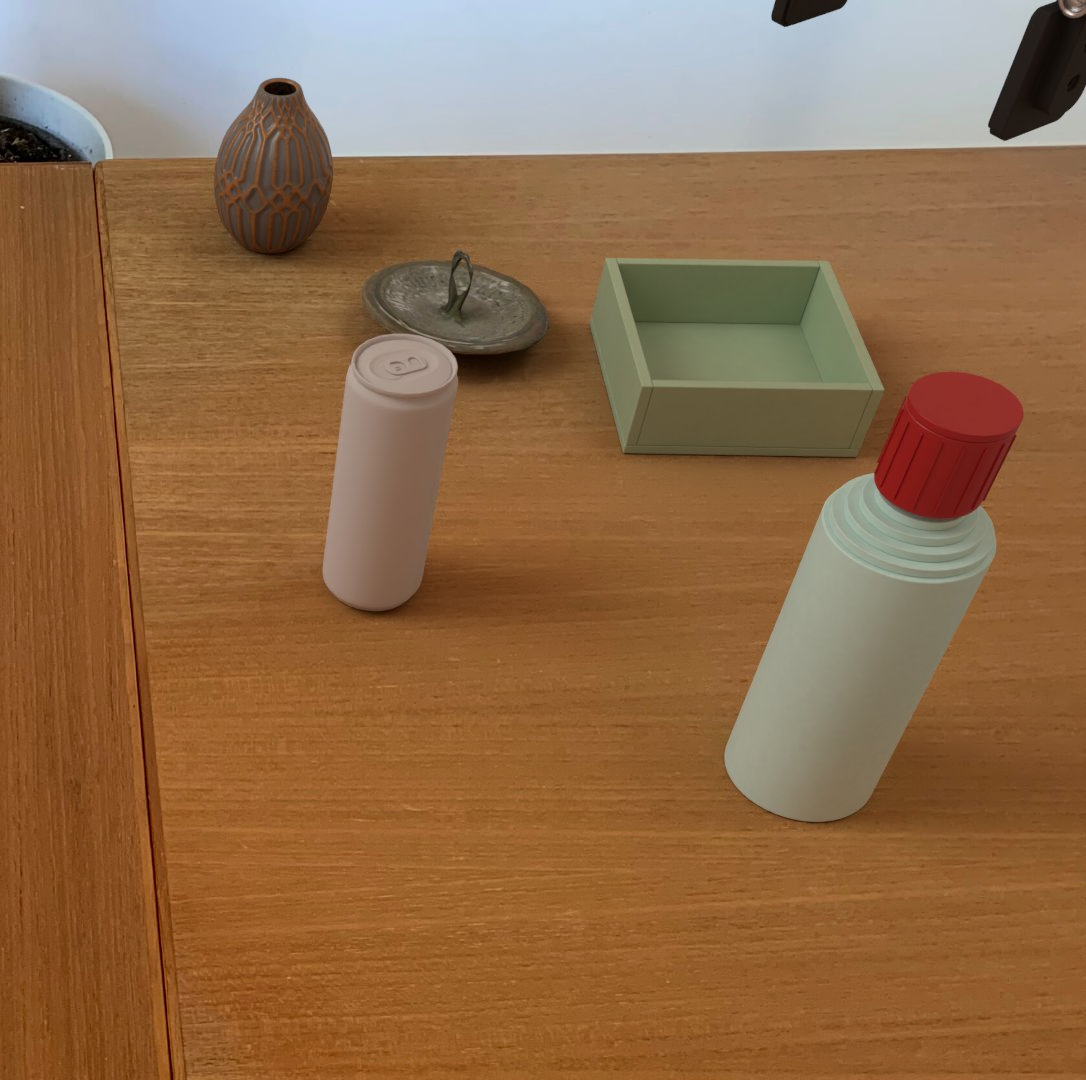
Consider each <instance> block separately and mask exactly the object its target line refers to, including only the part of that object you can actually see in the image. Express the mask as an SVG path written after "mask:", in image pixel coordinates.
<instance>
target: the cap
mask: <svg viewBox="0 0 1086 1080" xmlns="http://www.w3.org/2000/svg"><path fill="white" fill-rule="evenodd" d="M1024 415H1025V410H1024V407H1023V405H1022V403H1021V401H1020V400H1019V398H1018V397H1017V396H1016V395H1015V394H1014V393H1013V392H1012V391H1011V390H1009V389H1008V388H1007V387H1005V386H1003V385H1002V384H1000V383H998V382H996V381H994V380H993V379H989V378H987V377H985V376H981V375H978V374H973V373H968V372H961V371H938V372H934V373H933V372H932V373H929V374H926V375H923V376H921V377H920V378H918V379H917V380H915V382H913V383H912V385H911V386H910V387H909V389H908V393H907V395H906V396H904V398H903V401H902V403H901V405H900V408H899V410H898V412H897V415H896V417H895V420H894V422H893V424H892V426H891V428H890V431H889V434H888V436H887V438H886V440H885V442H884V446H883V448H882V449H881V452H880V455H879V457H878V459H877V462H876V463H877V465H876V467H875V470H874V472H873V473H874V481H875V485H876V487H877V489H878V490H879V492H880V493H881V494H882V495H883V496H884V498H886V499H887V500H888V501H889V502H890V503H892V504H893V505H895V506H897V507H899V508H900V509H903V510H905V511H907V512H909V513H912V514H915V515H919V516H923V517H928V518H936V519H951V518H958V517H962V516H965V515H968V514H970V513H972V512H973V511H974V510H976V509H977V508H978V507H979V506H982V503H983V502H985V501H986V499H987V497H988V495H989V492H990V491H991V489H992V487H993V485H994V483H995V481H996V479H997V478H998V475H999V473H1000V470H1001V468H1002V466H1003V465H1004V462H1005V460H1006V458H1007V456H1008V454H1009V453H1010V450H1011V448H1012V447H1013V445H1014V442H1015V440H1016V439H1017V436H1018V435H1017V432H1018V430H1019V428H1020V426H1021V424H1022V422H1023V420H1024Z"/></svg>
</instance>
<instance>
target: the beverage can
mask: <svg viewBox="0 0 1086 1080" xmlns="http://www.w3.org/2000/svg"><path fill="white" fill-rule="evenodd" d="M458 369H459V366H458V362H457V358H456V356H455V355H454V354H453V352H451V351H450V350H448V349H447V348H446V347H445V346H443V345H442V344H440V343H438V342H436V341H434V340H432V339H429V338H425V337H422V336H418V335H411V334H393V333H389V334H381V335H377V336H375V337H372V338H369V339H367V340H366V341H364V342H362V343H360V345H359V346H358V347H357V348H356V349H355V350H354V351H353V353H352V357H351V363H350V364H349V366H348V369H347V373H346V377H345V384H344V391H343V400H342V409H341V416H340V425H339V432H338V441H337V449H336V457H335V464H334V474H333V479H332V489H331V495H330V496H331V497H330V505H329V513H328V521H327V529H326V537H325V545H324V552H323V553H324V554H323V561H322V570H321V571H322V572H321V573H322V578H323V581H324V583H325V585H326V587H327V589H328V590H329V591H330V593H331V594H332V595H333V596H334V597H335V598H336V599H338V600H339V602H342V603H343V604H345V605H347V606H348V607H350V608H352V609H353V608H354V609H357V610H360V611H365V612H366V611H367V612H384V611H389V610H393V609H395V608H397V607H400V606H402V605H403V604H405V603H406V602H407V601H409V600H410V598H411V597H412V596H414V595H415V593H416V592H417V591H418V590H419V588H420V587H421V585H422V580H423V576H424V571H425V565H426V561H427V554H428V550H429V545H430V538H431V533H432V527H433V523H434V516H435V511H436V507H437V500H438V496H439V489H440V484H441V479H442V473H443V467H444V463H445V457H446V452H447V446H448V441H449V436H450V430H451V425H452V420H453V415H454V414H453V413H454V410H455V409H454V408H455V404H456V398H457V392H458V389H459V387H458V386H459V378H458Z"/></svg>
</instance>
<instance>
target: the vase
mask: <svg viewBox="0 0 1086 1080" xmlns="http://www.w3.org/2000/svg"><path fill="white" fill-rule="evenodd" d="M303 91H304V90H303V88H302V85H301V84H300V83H299V82H297V81H296V80H294V79H290V78H286V77H273V78H268V79H265V80H264V81H262V82H261V83H260V84H259V86H258V87H257V90H256V92H255V94H254V96H253V98H252V99H251V101H250V102H249V103H248V104H247V105H246V107H245V108H244V109H243V110H241V112H240V113H239V114H238V116H237V117H236V118H235V119H234V120H233V121H232V123H231V124H230V126H229V127H228V128H227V130H226V132H225V134H224V135H223V138H222V141H221V143H220V146H219V149H218V152H217V156H216V159H215V164H214V173H213V174H214V175H213V176H214V177H213V189H214V193H213V194H214V199H215V205H216V209H217V213H218V215H219V219H220V220H221V223H222V225H223V227H224V228H225V229H226V231H227V233H229V235H230V236H231V237H232V238H233V239H234V240H235V241H236V242H237V243H238V244H239V245H240V246H241V247H243V248H245V249H247V250H250V251H252V252H256V253H261V254H281V253H285V252H289V251H291V250H293V249H295V248H297V247H298V246H299V245H301V244H302V243H304V241H307V239H309V238H310V237H311V235H312V234H313V233H314V232H315V231H316V230H317V229H318V227H319V225H320V223H321V222H322V220H323V218H324V216H325V213H326V212H327V208H328V205H329V202H330V198H331V195H332V188H333V181H334V180H333V179H334V163H333V155H332V149H331V146H330V141H329V138H328V135H327V132H326V130H325V129H324V127H323V126H322V124H321V122H320V120H319V119H318V118H317V116H316V115H315V113H314V111H313V110H312V109H311V107H310V106H309V104H308V102H307V100H306V98H305V95H304V92H303Z"/></svg>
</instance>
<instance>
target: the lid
mask: <svg viewBox="0 0 1086 1080" xmlns="http://www.w3.org/2000/svg"><path fill="white" fill-rule="evenodd" d="M462 260H463V261H462ZM361 293H362V295H361V300H362V302H363V305H364V308H365V310H366V311H367V313H368V314H369V316H371V318H372V319H373V320H375V322H376V323H377V324H379V326H381V327H382V328H384V329H385V330H387V331H388V332H390V334H411V335H418V336H422V337H425V338H429V339H432V340H434V341H436V342H438V343H440V344H442V345H443V346H445V347H446V348H447V349H448V350H450V351H451V353H452V354H453V353H454V354H461V355H499V354H506V353H510V352H516V351H522V350H526V349H528V348H529V347H532V346H534V345H536V344H538V343H539V342H540V341H541V340H542V339H544V338H545V336H546V335H547V333H548V331H549V330H550V328H551V327H550V326H551V325H550V318H549V314H548V310H547V307H545V305H544V303H543V302H542V300H541V299H540V297H539V296H538V295H537V294H536V293H535V292H534V290H533V289H531V288H530V287H529V286H528V285H525V284H524V283H523V282H521V281H519V280H517V279H516V278H514V277H512V276H509V275H506V274H503V273H501V272H499V271H496V270H494V269H491V268H489V267H485V266H483V265H480V264H477V263H472V261H471V257H470V255H469V254H468V253H465V252H464V251H463V250H461V249H457V250H456V251H455V252H454V254H453V257H452V259H451V260H448V259H447V260H438V259H427V260H409V261H405V262H399V263H395V264H392V265H389V266H386V267H384V268H383V269H380V270H377V271H375V272H374V273H373V274H372V275H370V276H369V278H368V279H366V281H365V282H364V285H363V286H362V289H361Z"/></svg>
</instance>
